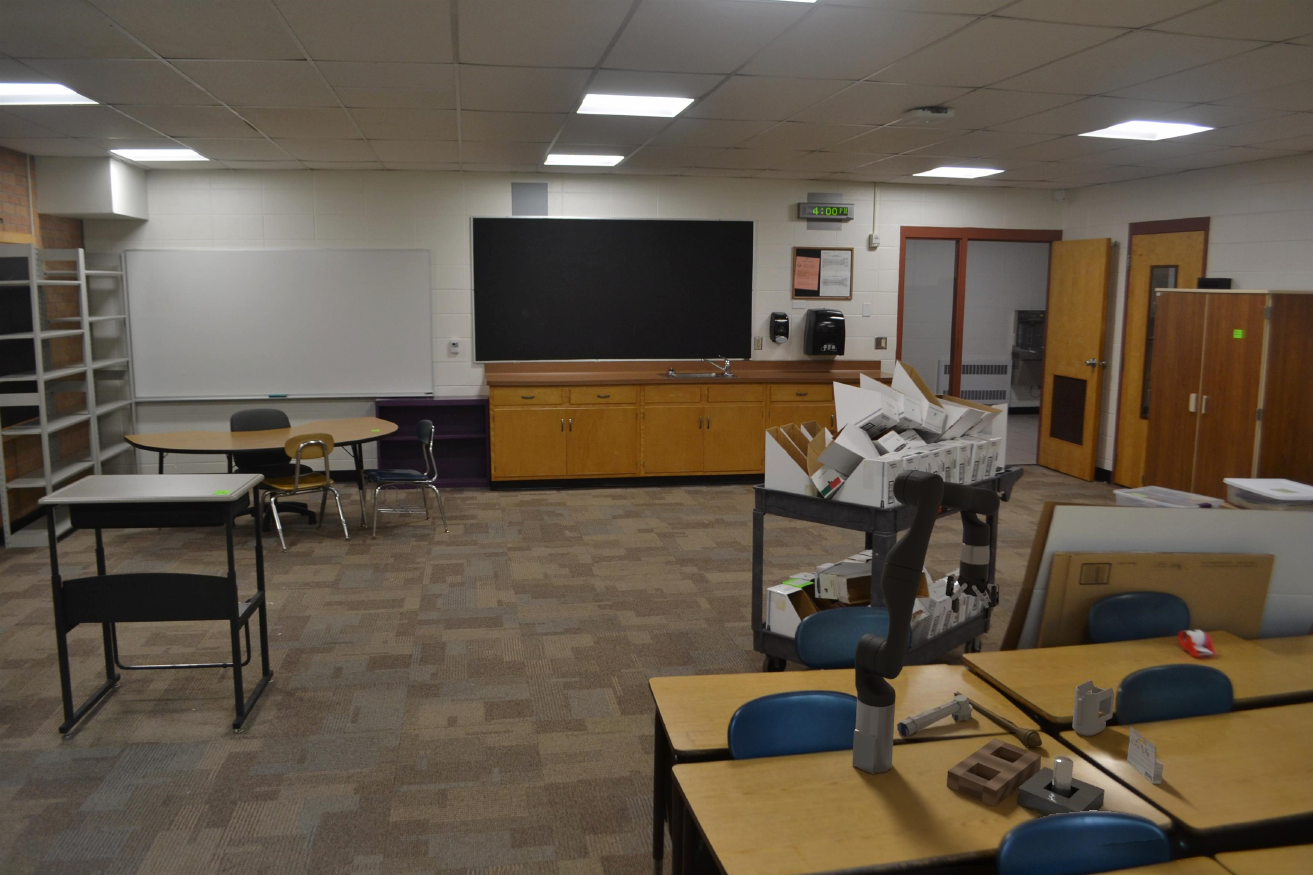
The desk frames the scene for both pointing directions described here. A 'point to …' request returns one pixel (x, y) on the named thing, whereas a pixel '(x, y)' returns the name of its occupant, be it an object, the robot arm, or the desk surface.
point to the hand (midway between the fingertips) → (970, 615)
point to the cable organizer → (1091, 708)
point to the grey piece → (936, 715)
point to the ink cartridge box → (1144, 758)
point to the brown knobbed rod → (1010, 726)
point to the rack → (993, 771)
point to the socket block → (1046, 802)
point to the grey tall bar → (1062, 776)
